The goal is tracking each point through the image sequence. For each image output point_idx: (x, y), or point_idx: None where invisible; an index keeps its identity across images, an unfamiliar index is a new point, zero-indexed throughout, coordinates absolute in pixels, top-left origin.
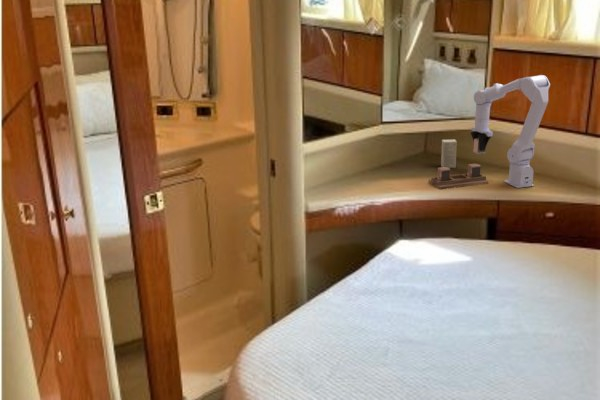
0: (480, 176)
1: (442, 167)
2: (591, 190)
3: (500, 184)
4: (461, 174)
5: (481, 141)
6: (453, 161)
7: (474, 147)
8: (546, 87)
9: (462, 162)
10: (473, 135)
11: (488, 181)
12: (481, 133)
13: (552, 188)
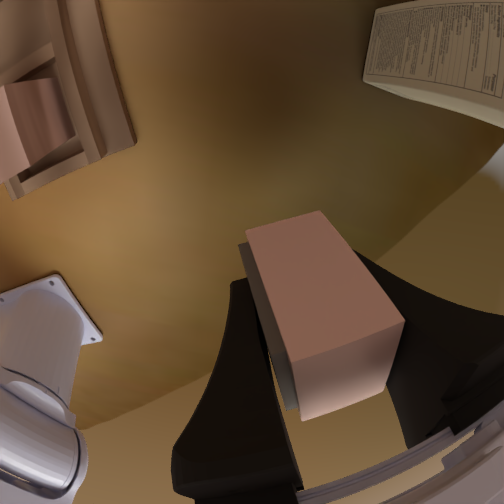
0: (49, 166)
1: None
2: None
3: (18, 248)
4: (58, 37)
5: (208, 387)
6: (388, 68)
7: (325, 244)
8: None
9: (429, 163)
10: (444, 348)
11: (13, 199)
12: (412, 428)
13: None
